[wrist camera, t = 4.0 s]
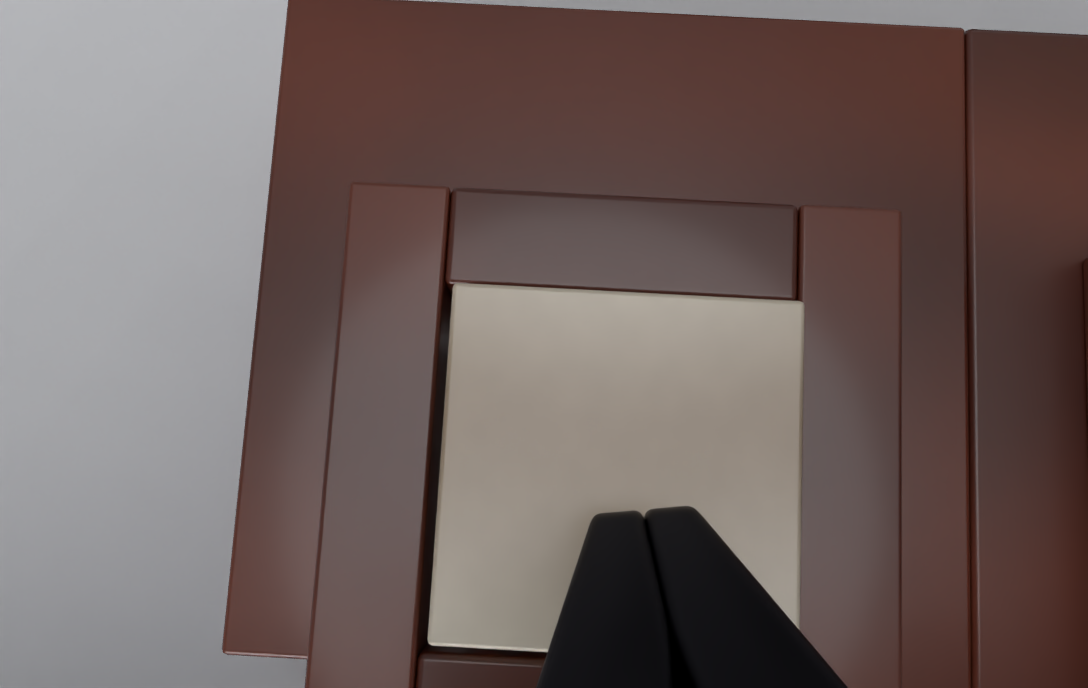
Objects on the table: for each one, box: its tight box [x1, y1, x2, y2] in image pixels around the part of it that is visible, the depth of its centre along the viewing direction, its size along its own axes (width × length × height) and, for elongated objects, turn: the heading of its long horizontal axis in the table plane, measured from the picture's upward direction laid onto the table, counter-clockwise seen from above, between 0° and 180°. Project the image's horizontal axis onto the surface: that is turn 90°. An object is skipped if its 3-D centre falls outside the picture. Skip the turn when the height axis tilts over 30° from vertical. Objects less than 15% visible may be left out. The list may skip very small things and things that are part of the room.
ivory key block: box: [222, 0, 971, 688], centre depth 15 cm, size 10×10×7 cm
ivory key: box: [427, 283, 805, 652], centre depth 11 cm, size 4×4×2 cm
